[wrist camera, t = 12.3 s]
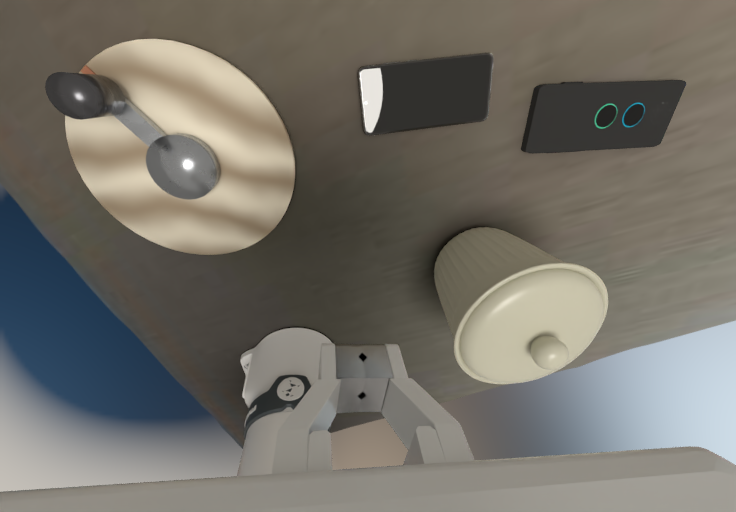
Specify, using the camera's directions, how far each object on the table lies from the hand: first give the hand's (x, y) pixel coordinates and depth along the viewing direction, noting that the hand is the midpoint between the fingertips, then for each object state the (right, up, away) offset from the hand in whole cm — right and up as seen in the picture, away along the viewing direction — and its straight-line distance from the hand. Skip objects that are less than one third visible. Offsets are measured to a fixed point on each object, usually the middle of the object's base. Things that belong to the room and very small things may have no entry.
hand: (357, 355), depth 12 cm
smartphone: (+7, +23, +25) cm, 35 cm away
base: (-21, +15, +24) cm, 35 cm away
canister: (+17, +3, +37) cm, 41 cm away
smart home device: (+31, +23, +29) cm, 48 cm away
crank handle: (-23, +17, +21) cm, 35 cm away
